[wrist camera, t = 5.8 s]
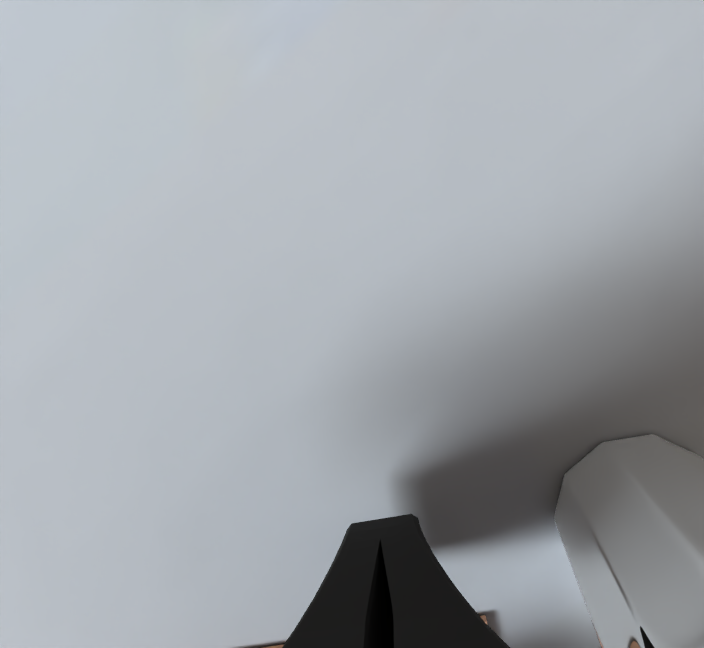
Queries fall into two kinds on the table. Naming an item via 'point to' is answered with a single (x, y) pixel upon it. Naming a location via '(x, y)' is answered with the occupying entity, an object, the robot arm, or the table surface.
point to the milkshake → (637, 541)
